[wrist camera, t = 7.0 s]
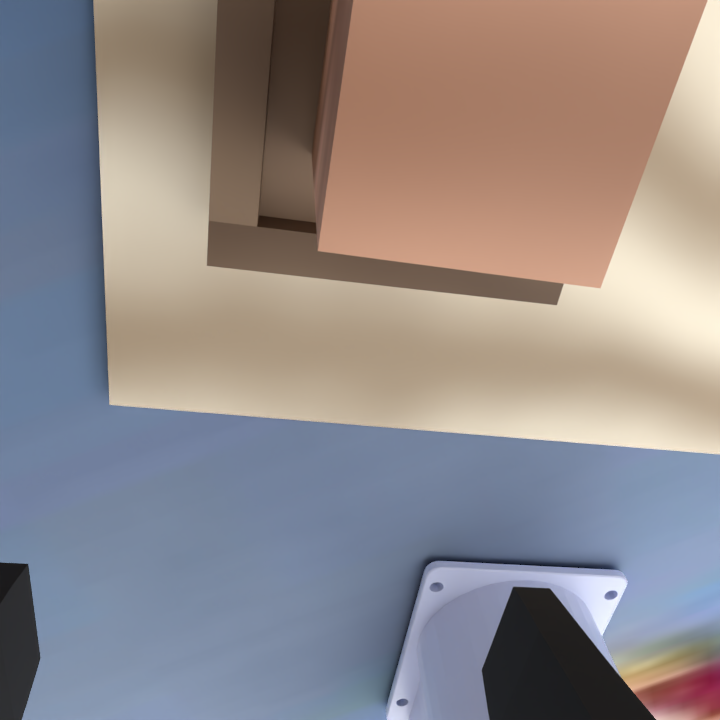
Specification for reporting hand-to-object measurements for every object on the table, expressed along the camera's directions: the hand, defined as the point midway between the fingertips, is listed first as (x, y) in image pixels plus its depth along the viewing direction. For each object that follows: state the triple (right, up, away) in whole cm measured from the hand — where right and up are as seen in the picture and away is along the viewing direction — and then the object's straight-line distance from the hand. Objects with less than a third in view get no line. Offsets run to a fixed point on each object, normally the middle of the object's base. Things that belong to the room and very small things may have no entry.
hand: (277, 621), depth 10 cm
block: (+3, +10, +3) cm, 11 cm away
